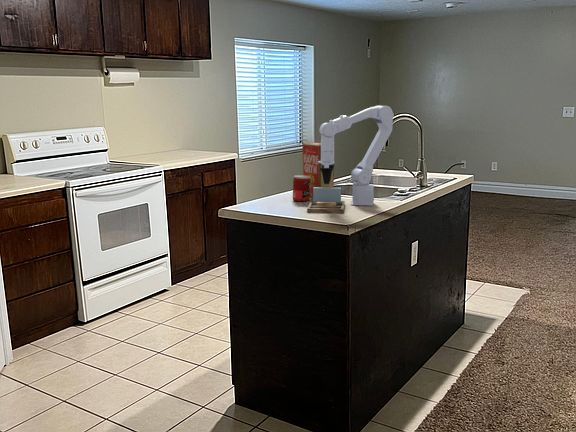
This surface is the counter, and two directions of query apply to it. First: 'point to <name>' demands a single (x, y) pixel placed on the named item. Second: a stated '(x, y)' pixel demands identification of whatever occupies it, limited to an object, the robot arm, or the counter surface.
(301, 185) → the canned food
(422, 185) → the counter surface
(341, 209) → the rack
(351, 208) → the counter surface
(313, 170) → the food packaging
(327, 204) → the offcut
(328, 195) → the panel
